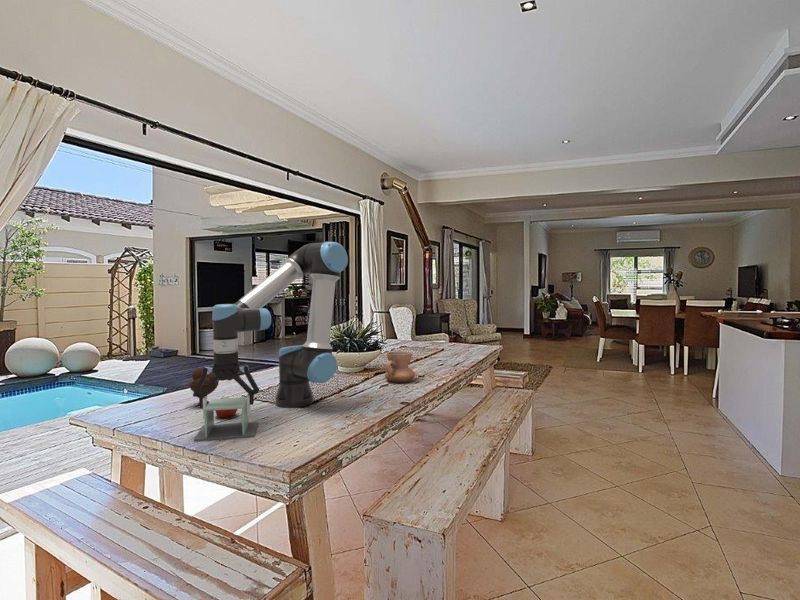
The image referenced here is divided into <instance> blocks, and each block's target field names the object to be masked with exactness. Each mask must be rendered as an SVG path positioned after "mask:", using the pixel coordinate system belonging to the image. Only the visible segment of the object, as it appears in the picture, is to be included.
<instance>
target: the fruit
mask: <svg viewBox="0 0 800 600" xmlns="http://www.w3.org/2000/svg"><path fill="white" fill-rule="evenodd" d="M224 398H225V397H220V398H219V399H224ZM226 398H229V396H228V397H226ZM238 410H239V409H228V410H214V411H215V415H216V417H215V418H216V419H217V418H222V419H230V418H232V417H234V416H235V414H237V412H238Z"/></svg>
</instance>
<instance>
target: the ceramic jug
mask: <svg viewBox="0 0 800 600" xmlns="http://www.w3.org/2000/svg"><path fill="white" fill-rule="evenodd" d="M412 356H413V352H412V351H410V350H393V351H389V352H386V358H387V362H386V364H385V369H386V371H385V373H384V378H385V380H387V381H389V382H391V383H395V384H396V383H399V384H404V383H409V382H410V381H412V380H413V379H414V378H415V375H416V373H415V371H414V370H413V369H412V368H410V367H409V365H410V363H411V360H412V358H413V357H412Z"/></svg>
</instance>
